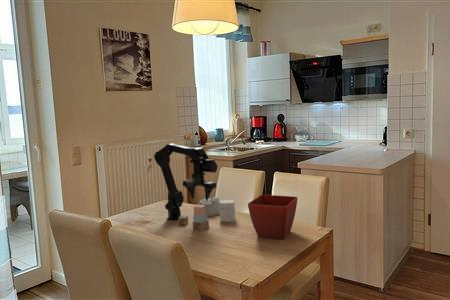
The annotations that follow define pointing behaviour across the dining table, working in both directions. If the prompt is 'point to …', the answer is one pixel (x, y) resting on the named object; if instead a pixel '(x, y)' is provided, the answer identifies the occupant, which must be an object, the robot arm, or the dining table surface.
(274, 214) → the plant pot
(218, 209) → the lumpy-topped squat cylinder
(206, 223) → the walnut base block
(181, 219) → the walnut block
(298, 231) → the dining table surface
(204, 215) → the slate middle block
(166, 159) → the robot arm
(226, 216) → the small box
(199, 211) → the terracotta cube
